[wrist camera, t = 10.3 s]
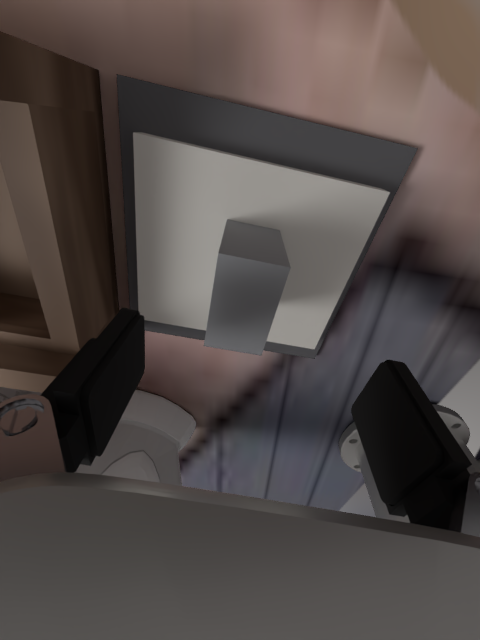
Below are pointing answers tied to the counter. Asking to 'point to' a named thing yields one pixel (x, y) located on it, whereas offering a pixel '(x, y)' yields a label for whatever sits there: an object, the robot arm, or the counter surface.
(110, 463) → the soap bottle
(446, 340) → the counter surface
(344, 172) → the mat
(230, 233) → the lid
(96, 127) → the box
